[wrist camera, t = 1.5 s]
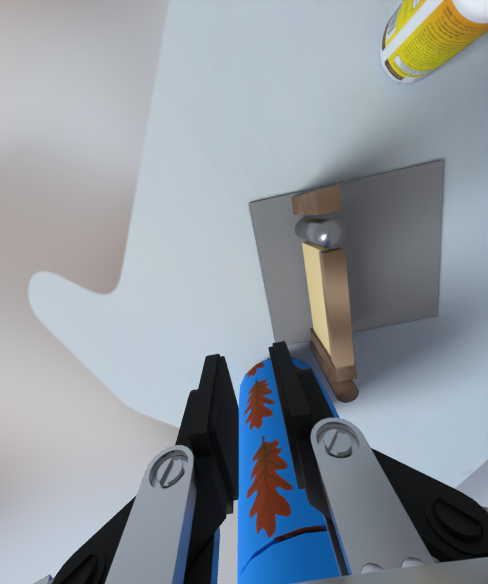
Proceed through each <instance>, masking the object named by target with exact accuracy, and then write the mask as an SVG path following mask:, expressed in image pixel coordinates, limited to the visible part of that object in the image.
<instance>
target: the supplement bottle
mask: <svg viewBox="0 0 488 584" xmlns="http://www.w3.org/2000/svg"><path fill="white" fill-rule="evenodd" d="M487 31H488V0H404V1H403V2H402V3H401V5H400V6H399V8H398V9H397V10H396V11H395V13H394V14H393V16H392V17H391V18H390V20H389V22H388V23H387V25H386V28H385V30H384V32H383V36H382V39H381V45H380V57H381V62H382V66H383V68H384V70H385V72H386V73H387V75H388V76H389V77H390V78H391V79H393V80H394V81H396V82H399V83H405V84H406V83H413V82H417V81H419V80H421V79H423V78H425V77H426V76H428V75H429V74H431V73H432V72H433V71H434V70H436V69H437V68H439V67H440V66H441V65H443V64H444V63H445V62H447V61H448V60H449V59H451V58H452V57H453V56H455V55H456V54H457V53H459V52H460V51H461V50H463V49H464V48H465V47H467V46H468V45H469V44H471V43H472V42H474V41H475V40H476V39H478V38H479V37H480V36H482V35H483V34H484V33H486V32H487Z"/></svg>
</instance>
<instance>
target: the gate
mask: <svg viewBox="0 0 488 584" xmlns="http://www.w3.org/2000/svg"><path fill="white" fill-rule="evenodd" d="M295 233H296V235H297V236H298V237H299V238H302V239H304V240H307V241H306V242H302V247H303V255H304V262H305V269H306V277H307V284H308V292H309V299H310V306H311V314H312V321H313V328H311V329H310V334H311V340H312V342H313V343H314V345H315V347H316V348H317V350H318V352H319V354H320V355H321V357H322V359H323V361H324V362H325V364H326V366H327V367H328V369H329V371H330V373H331V374H332V376H333V378H334V380H335V381H336V382H340V381H345V380H350V379H356V378H357V374H356V364H355V363H354V351H353V339H352V327H351V315H350V302H349V290H348V278H347V265H346V253H345V249H344V248H341V247H339V246H340V245H341V244H342V243H343V242H344V241H345V238H346V235H347V230H346V227H345V225H344V224H343V223H342V222H341V221H339V220H331V219H313V218H303V219H301V220H299V221H298V222H297V224H296V226H295ZM337 247H338V248H337Z"/></svg>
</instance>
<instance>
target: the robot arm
mask: <svg viewBox="0 0 488 584" xmlns="http://www.w3.org/2000/svg"><path fill="white" fill-rule="evenodd" d="M268 348H269V353H270V358H271V363H272V368H273V373H274V377H275V382H276V387H277V392H278V397H279V402H280V407H281V411H282V416H283V421H284V425H285V430H286V434H287V439H288V444H289V448H290V453H291V458H292V462H293V467H294V472H295V476H296V481H297V486H298V490H299V489H305V492H306V496H307V500H308V501H309V504H310V505H311V506H313V507H314V508H315V509H317V510H318V511H319V512H321V513H322V514H323V517H324V521H325V525H326V528H327V532H328V535H329V539H330V543H331V546H332V550H333V554H334V557H335V561H336V565H337V568H338V572H339V575H340V577H334V578H327V579H320V580H313V581H306V582H299V583H293V584H488V508H487V507H482V506H480V505H479V504H478V503H477V502H476V501H474V500H473V499H472V498H470V497H468V496H467V495H465V494H463V493H462V492H460V491H458V490H456V489H454V488H452V487H450V486H448V485H446V484H444V483H442V482H440V481H438V480H436V479H434V478H431V477H429V476H427V475H425V474H423V473H421V472H419V471H417V470H415V469H413V468H411V467H409V466H407V465H405V464H403V463H401V462H399V461H397V460H395V459H393V458H391V457H389V456H387V455H384V454H382V453H380V452H378V451H376V450H374V449H372V448H370V446H369V444H368V442H367V441H366V439H365V437H364V435H363V434H362V432H361V431H360V430H359V428H358V427H356V426H355V425H354V424H352V423H351V422H349V421H347V420H344V419H340V418H335V417H334V415H333V413H332V411H331V409H330V407H329V405H328V402H327V400H326V398H325V396H324V394H323V392H322V390H321V388H320V385H319V383H318V381H317V379H316V377H315V375H314V373H313V371H312V369H311V368H308V369H302V370H297V371H296V370H295V367H294V364H293V361H292V359H291V356H290V353H289V350H288V348H287V345H286V342H285V341H281V342H276V343H273V347H268ZM238 498H239V409H238V404H237V400H236V397H235V393H234V389H233V386H232V382H231V378H230V375H229V371H228V367H227V363H226V360H225V357H224V356H222V357H220V355H219V354H215V355H209V356H206V358H205V362H204V367H203V371H202V375H201V379H200V384H199V388H198V389H197V390H192V391H191V392H190V394H189V397H188V401H187V405H186V408H185V412H184V415H183V419H182V423H181V426H180V430H179V434H178V437H177V441H176V444H175V446H172V447H169V448H167V449H165V450H163V451H162V452H160V453H159V454H158V455H157V456H156V457H154V459H153V460H152V461H151V463H150V464H149V465H148V467H147V469H146V471H145V474H144V477H143V479H142V482H141V485H140V488H139V491H138V493H137V495H136V496H135V497H134V498H133V499H132V500H131V501H130V502H129V503H128V504H127V505H126V506H125V507H123V508H122V509H121V510H120V511H119V512H118V513H117V514H116V515H115V516H114V517H113V518H112V519H111V520H110V521H109V522H107V523H106V524H105V525H104V526H103V527H102V528H101V529H100V530H99V531H98V532H97V533H96V534H94V535H93V536H92V537H91V538H90V539H89V540H88V541H87V542H86V543H85V544H84V545H83V546H82V547H81V548H79V549H78V550H77V551H76V552H75V553H74V554H73V555H72V556H71V557H70V559H68V561H67V562H66V563H65V564H64V565H63V566H62V568H61V569H60V571H59V572H58V573H57V575H56V576H55V577H54V578H52V577H51V575H48V576H46V577H45V578H43V579H41V580H39V581H38V582H36V583H34V584H217V577H218V576H217V575H218V558H219V542H220V529H219V526H220V525H221V524H222V522H223V521H224V520H225V519H226V514H232V513H233V500H238Z"/></svg>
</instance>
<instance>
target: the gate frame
mask: <svg viewBox="0 0 488 584" xmlns="http://www.w3.org/2000/svg"><path fill="white" fill-rule="evenodd" d="M443 171H444V160H441V161H436V162H432V163H427V164H423V165H418V166H414V167H409V168H405V169H400V170H396V171H391V172H387V173H382V174H378V175H373V176H369V177H364V178H360V179H355V180H351V181H347V182H342V183H338V184H333V185H329V186H324V187H320V188H315V189H311V190H306V191H302V192H297V193H293V194H288V195H284V196H279V197H275V198H270V199H266V200H261V201H257V202H252V203H249V208H250V214H251V219H252V224H253V229H254V234H255V240H256V245H257V250H258V255H259V260H260V266H261V271H262V276H263V281H264V286H265V292H266V297H267V302H268V307H269V312H270V318H271V323H272V328H273V333H274V338H275V343H276V342H281V341H285V342H286V345H291V344H296V343H301V342H306V341H311V334H310V329H311V328H313V321H312V314H311V306H310V299H309V292H308V284H307V277H306V269H305V262H304V255H303V247H302V242H306V241H307V240H304V239H302V238H299V237H298V236H297V235H296V233H295V226H296V224H297V222H298V221H299V220H301V219H303V218H313V219H331V220H339V221H341V222H342V223H343V224H344V225H345V227H346V230H347V235H346V238H345V241H344V242H343V243H342V244H341V245H340V246H339V247H341V248H344V249H345V253H346V265H347V278H348V290H349V302H350V315H351V327H352V332H357V331H362V330H368V329H373V328H378V327H383V326H388V325H393V324H398V323H404V322H409V321H414V320H419V319H424V318H429V317H434V316H438V298H439V273H440V247H441V222H442V197H443ZM337 248H338V247H337ZM310 349H311V351H312V352H313V354H314V356H315V358H316V360H317V362H318V364H319V366H320V367H321V369H322V371H323V373H324V375H325V377H326V379H327V381H328V383H329V384H330V386H331V388H332V390H333V392H334V394H335V396H336V398H337V399H338V400H339V401H340V402H344V403H348V402H351V401H353V400H355V399H356V398H357V396H358V393H359V391H358V388H357V387H356V385H355V384H354V382H353V381H352V379H350V380H345V381H340V382H336V381H335V380H334V378H333V376H332V374H331V373H330V371H329V369H328V367H327V366H326V364H325V362H324V361H323V359H322V357H321V355H320V354H319V352H318V350H317V348H316V347H315V345H314V343H313V342H312V341H311V342H310Z"/></svg>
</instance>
